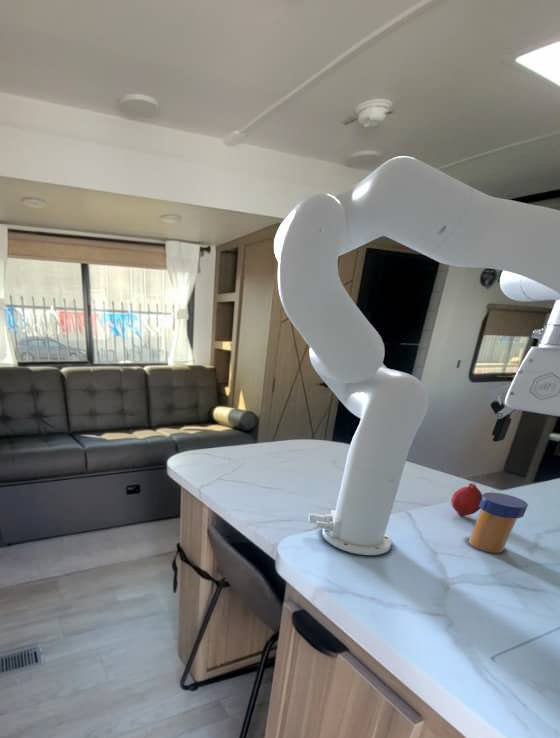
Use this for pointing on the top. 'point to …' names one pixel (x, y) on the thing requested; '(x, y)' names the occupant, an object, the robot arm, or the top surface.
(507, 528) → the honey jar
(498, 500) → the honey lid
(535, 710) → the top surface
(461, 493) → the red pomegranate
